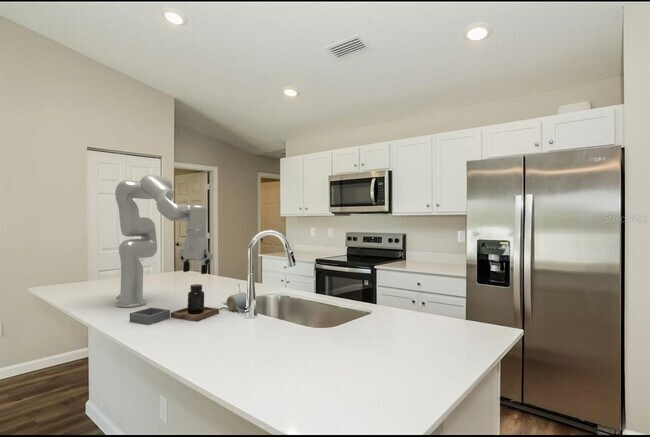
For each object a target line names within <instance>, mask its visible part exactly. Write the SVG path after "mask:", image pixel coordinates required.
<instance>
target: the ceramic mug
mask: <svg viewBox="0 0 650 437" xmlns="http://www.w3.org/2000/svg"><path fill="white" fill-rule="evenodd" d="M246 294H247V293H246V292H244V291H242V292H239V293H235V294H232V295H229V296H228V297H227V299H226V306H227V309H228V310H229V311H231V312H235V311H237V312H239V313H242V314H243V313H244V314H245V313H246V312H245V310H246V309H245V307H246Z"/></svg>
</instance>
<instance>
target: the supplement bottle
mask: <svg viewBox="0 0 650 437" xmlns="http://www.w3.org/2000/svg"><path fill="white" fill-rule="evenodd" d="M189 290H190V291H189V292H188V293H187V307H188V309H187V312H188V314H201V313H203V312H204V307H205V291H204V290H203V284H200V283H199V284H197V283H195V284H191V285H190V289H189Z"/></svg>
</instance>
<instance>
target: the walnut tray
mask: <svg viewBox="0 0 650 437" xmlns="http://www.w3.org/2000/svg"><path fill="white" fill-rule="evenodd" d="M187 309H188V306H186V307H185V308H181V309H178V310H174V311H170V319H175V320H176V319H177V320H183V321H190V322H191V321H192V322H200V321H202V320H205V319H207V318H210V317H213V316H215V315H218V314H220V308H219V307H218V308H217V307H209V306H204V312H203V313H201V314H188V312H187Z"/></svg>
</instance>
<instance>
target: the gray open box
mask: <svg viewBox="0 0 650 437" xmlns="http://www.w3.org/2000/svg"><path fill="white" fill-rule="evenodd" d="M169 319H171V309H167V308H166V309H165V308H158V307H148V308H144V309H140V310H136V311H132V312H129V323H133V324H134V323H135V324H142V325H148V326H150V325H154V324H156V323H160V322H163V321H166V320H169ZM153 323H154V324H153Z"/></svg>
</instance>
